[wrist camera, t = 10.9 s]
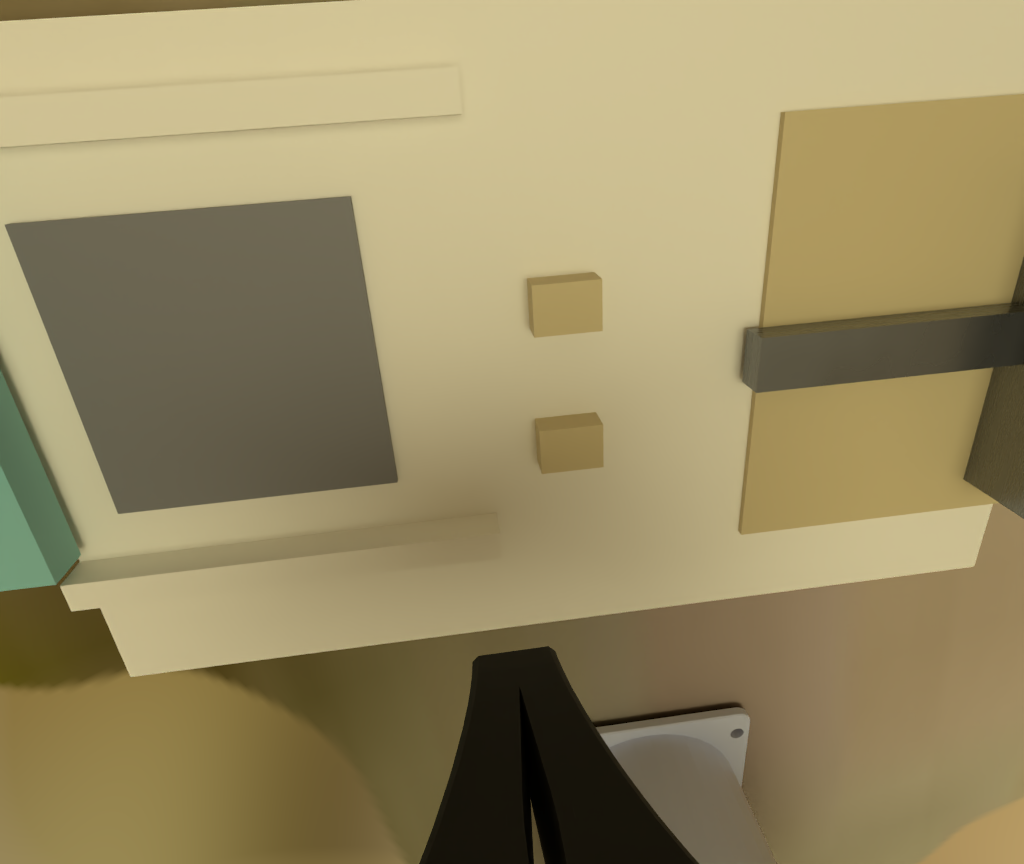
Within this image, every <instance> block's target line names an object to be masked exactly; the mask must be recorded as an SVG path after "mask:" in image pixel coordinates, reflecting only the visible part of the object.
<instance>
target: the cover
mask: <svg viewBox="0 0 1024 864" xmlns="http://www.w3.org/2000/svg"><path fill="white" fill-rule="evenodd" d="M80 556H81V553H80V551H79V549H78V546H77V544H76V542H75V539H74V537H73V535H72V532H71V530H70V528H69V526H68V523H67V521H66V519H65V516H64V514H63V512H62V510H61V507H60V505H59V503H58V500H57V498H56V496H55V494H54V491H53V489H52V487H51V484H50V482H49V480H48V477H47V475H46V473H45V471H44V468H43V466H42V464H41V461H40V459H39V457H38V455H37V452H36V450H35V448H34V445H33V443H32V441H31V438H30V436H29V434H28V432H27V429H26V427H25V425H24V422H23V420H22V418H21V416H20V413H19V411H18V409H17V406H16V404H15V402H14V399H13V397H12V395H11V393H10V390H9V388H8V386H7V383H6V381H5V379H4V377H3V374H2V372H1V370H0V591H7V590H15V589H24V588H32V587H40V586H49V585H56V584H57V583H58V582H59V581H60V579H61V578H62V577H63V576H64V575H65V574H66V572H67V571H68V570H69V569H70V568H71V566H72V565H73V564H74V563H75V562H76V560H77V559H78V558H79V557H80Z"/></svg>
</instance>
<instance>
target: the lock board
mask: <svg viewBox="0 0 1024 864" xmlns="http://www.w3.org/2000/svg"><path fill="white" fill-rule="evenodd" d="M1023 257H1024V0H352V1H335V2H319V3H302V4H285V5H268V6H251V7H234V8H217V9H200V10H183V11H166V12H150V13H133V14H116V15H99V16H82V17H65V18H48V19H31V20H14V21H0V370H1V372H2V374H3V377H4V379H5V381H6V383H7V386H8V388H9V390H10V393H11V395H12V397H13V399H14V402H15V404H16V406H17V409H18V411H19V413H20V416H21V418H22V420H23V422H24V425H25V427H26V429H27V432H28V434H29V436H30V438H31V441H32V443H33V445H34V448H35V450H36V452H37V455H38V457H39V459H40V461H41V464H42V466H43V468H44V471H45V473H46V475H47V477H48V480H49V482H50V484H51V487H52V489H53V491H54V494H55V496H56V498H57V500H58V503H59V505H60V507H61V510H62V512H63V514H64V516H65V519H66V521H67V523H68V526H69V528H70V530H71V532H72V535H73V537H74V539H75V542H76V544H77V546H78V549H79V551H80V553H81V556H80V557H79V558H78V559H79V561H80V562H79V564H78V565H77V566H76V567H75V568H74V570H73V571H72V572H71V573H70V575H69V576H68V577H67V578H66V579H65V581H64V582H63V583H62V584H61V585H60V588H61V590H62V592H63V594H64V596H65V598H66V601H67V603H68V605H69V607H70V609H71V611H79V610H87V609H95V608H100V609H101V611H102V613H103V615H104V618H105V620H106V622H107V625H108V627H109V629H110V631H111V634H112V636H113V638H114V640H115V643H116V645H117V647H118V650H119V652H120V654H121V656H122V659H123V661H124V663H125V666H126V668H127V670H128V672H129V675H130V677H134V676H141V675H150V674H157V673H165V672H173V671H180V670H188V669H195V668H203V667H211V666H218V665H226V664H234V663H241V662H249V661H257V660H264V659H272V658H279V657H287V656H295V655H302V654H310V653H318V652H325V651H333V650H340V649H348V648H356V647H363V646H371V645H379V644H386V643H394V642H402V641H409V640H417V639H424V638H432V637H440V636H447V635H455V634H463V633H470V632H478V631H486V630H493V629H501V628H508V627H516V626H524V625H531V624H539V623H547V622H554V621H562V620H570V619H577V618H585V617H592V616H600V615H608V614H615V613H623V612H631V611H638V610H646V609H654V608H661V607H669V606H676V605H684V604H692V603H699V602H707V601H715V600H722V599H730V598H738V597H745V596H753V595H760V594H768V593H776V592H783V591H791V590H799V589H806V588H814V587H822V586H829V585H837V584H844V583H852V582H860V581H867V580H875V579H883V578H890V577H898V576H906V575H913V574H921V573H928V572H936V571H944V570H951V569H959V568H967V567H974V565H975V562H976V558H977V555H978V552H979V548H980V545H981V542H982V538H983V535H984V532H985V528H986V525H987V522H988V518H989V515H990V512H991V508H992V505H993V504H995V503H999V502H997V501H996V500H994V499H993V498H991V497H990V496H988V495H987V494H985V493H984V492H982V491H980V490H979V489H977V488H976V487H974V486H973V485H971V484H970V483H968V482H967V481H965V480H964V479H963V478H964V474H965V470H966V467H967V463H968V459H969V456H970V452H971V448H972V445H973V441H974V437H975V434H976V430H977V426H978V423H979V419H980V415H981V411H982V408H983V404H984V400H985V397H986V393H987V389H988V386H989V382H990V378H991V375H992V371H993V368H985V369H976V370H967V371H957V372H948V373H939V374H929V375H920V376H911V377H901V378H892V379H883V380H874V381H864V382H855V383H846V384H836V385H827V386H818V387H808V388H799V389H790V390H781V391H771V392H762V393H756V392H754V391H753V390H752V389H751V388H749V387H748V386H747V385H746V384H744V383H743V382H742V378H743V367H744V356H745V346H746V335H747V329H752V328H762V327H772V326H782V325H792V324H802V323H812V322H822V321H832V320H842V319H852V318H862V317H872V316H882V315H892V314H902V313H912V312H922V311H932V310H942V309H952V308H962V307H972V306H982V305H992V304H1002V303H1011V301H1012V297H1013V294H1014V290H1015V286H1016V283H1017V279H1018V275H1019V272H1020V268H1021V264H1022V261H1023Z"/></svg>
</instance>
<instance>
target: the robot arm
mask: <svg viewBox="0 0 1024 864" xmlns="http://www.w3.org/2000/svg"><path fill="white" fill-rule="evenodd" d="M749 727H750V718H749V716H748V714H747V712H746V711H745V710H744V709H743V708H740V707H734V708H727V709H720V710H713V711H706V712H699V713H692V714H685V715H678V716H671V717H664V718H657V719H650V720H643V721H637V722H630V723H623V724H616V725H609V726H602V727H595V726H594V724H593V723H592V721H591V720H590V718H589V716H588V715H587V713H586V711H585V710H584V708H583V706H582V705H581V703H580V701H579V699H578V698H577V696H576V694H575V692H574V691H573V689H572V687H571V685H570V683H569V681H568V679H567V677H566V675H565V673H564V671H563V669H562V667H561V665H560V662H559V660H558V658H557V655H556V652H555V651H554V650H553V649H551V648H550V647H549V646H548V647H541V648H533V649H526V650H519V651H512V652H504V653H497V654H490V655H483V656H478V657H477V658H476V659H475V660H474V661H473V667H472V681H471V689H470V696H469V702H468V707H467V712H466V716H465V721H464V726H463V730H462V734H461V738H460V741H459V745H458V749H457V753H456V757H455V760H454V764H453V768H452V771H451V774H450V778H449V781H448V784H447V787H446V790H445V793H444V796H443V799H442V802H441V805H440V808H439V811H438V814H437V817H436V820H435V823H434V826H433V829H432V832H431V834H430V837H429V840H428V842H427V845H426V848H425V850H424V853H423V856H422V858H421V861H420V863H419V864H534V859H533V840H532V821H531V803H532V807H533V812H534V816H535V820H536V825H537V829H538V834H539V838H540V843H541V847H542V851H543V856H544V860H545V864H777V863H776V861H775V859H774V857H773V854H772V852H771V850H770V848H769V846H768V844H767V842H766V840H765V837H764V835H763V833H762V831H761V829H760V827H759V825H758V823H757V820H756V818H755V816H754V814H753V812H752V810H751V808H750V806H749V803H748V801H747V799H746V797H745V795H744V793H743V791H742V789H741V788H742V780H743V773H744V765H745V757H746V750H747V742H748V735H749ZM530 798H531V802H530Z"/></svg>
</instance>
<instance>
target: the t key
mask: <svg viewBox="0 0 1024 864" xmlns="http://www.w3.org/2000/svg"><path fill="white" fill-rule="evenodd" d="M985 368H993V371H992V375H991V378H990V382H989V386H988V389H987V393H986V397H985V400H984V404H983V408H982V411H981V415H980V419H979V423H978V426H977V430H976V434H975V437H974V441H973V445H972V448H971V452H970V456H969V459H968V463H967V467H966V470H965V474H964V478H963V479H964V480H965V481H967V482H968V483H970V484H971V485H973V486H974V487H976V488H977V489H979V490H980V491H982V492H984V493H985V494H987V495H988V496H990V497H991V498H993V499H994V500H996V501H997V502H999V503H1000V504H1002V505H1003V506H1005V507H1007V508H1008V509H1010V510H1011V511H1013V512H1014V513H1016V514H1017V515H1019V516H1020V517H1022V518H1023V519H1024V257H1023V261H1022V264H1021V268H1020V272H1019V275H1018V279H1017V283H1016V286H1015V290H1014V294H1013V297H1012V301H1011V303H1002V304H992V305H982V306H972V307H962V308H952V309H942V310H932V311H922V312H912V313H902V314H892V315H882V316H872V317H862V318H852V319H842V320H832V321H822V322H812V323H802V324H792V325H782V326H772V327H762V328H752V329H747V335H746V346H745V356H744V367H743V378H742V382H743V383H744V384H746V385H747V386H748V387H749V388H751V389H752V390H753V391H754V392H756V393H762V392H771V391H781V390H790V389H799V388H808V387H818V386H827V385H836V384H846V383H855V382H864V381H874V380H883V379H892V378H901V377H911V376H920V375H929V374H939V373H948V372H957V371H967V370H976V369H985Z"/></svg>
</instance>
